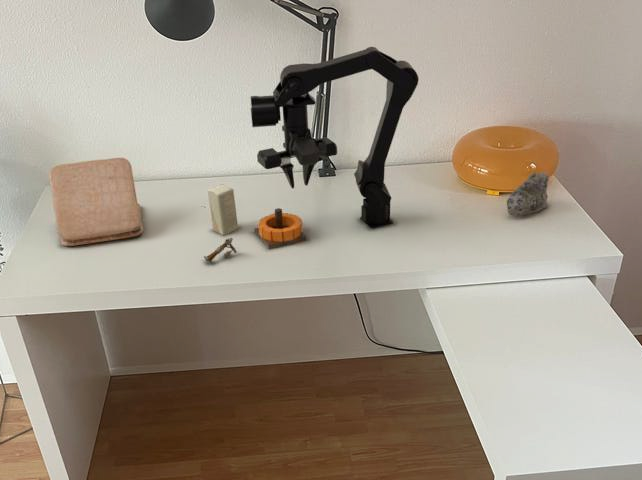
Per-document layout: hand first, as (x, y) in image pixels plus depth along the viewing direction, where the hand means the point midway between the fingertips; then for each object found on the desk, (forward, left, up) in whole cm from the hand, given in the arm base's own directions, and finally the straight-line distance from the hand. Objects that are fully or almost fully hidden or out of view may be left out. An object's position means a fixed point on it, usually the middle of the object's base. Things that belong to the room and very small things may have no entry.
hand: (299, 186), depth 186 cm
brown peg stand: (+7, +2, -11) cm, 13 cm away
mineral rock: (-55, +18, -11) cm, 59 cm away
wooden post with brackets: (+24, +6, -11) cm, 27 cm away
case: (+46, -25, -11) cm, 53 cm away
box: (+18, -8, -11) cm, 22 cm away
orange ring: (+6, +2, -10) cm, 12 cm away
